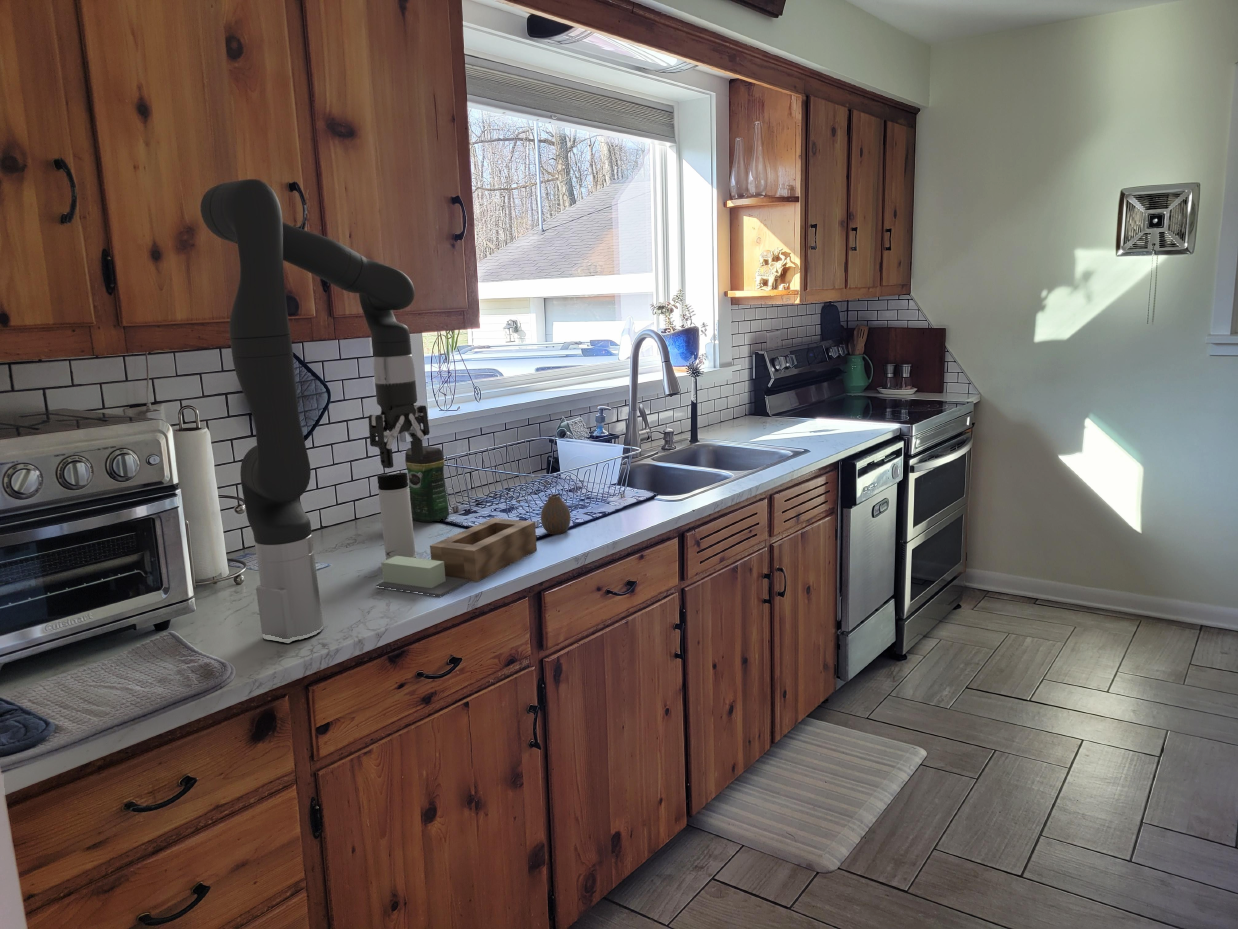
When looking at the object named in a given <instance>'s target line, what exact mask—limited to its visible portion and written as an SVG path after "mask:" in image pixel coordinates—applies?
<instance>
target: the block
mask: <svg viewBox="0 0 1238 929" xmlns="http://www.w3.org/2000/svg"><path fill="white" fill-rule="evenodd" d="M380 564H381V570H382V571H381V573H382V582H390V583H398V584H405V585H412V586H419V587H427V588H433V587H435V586H437V585H438V584H440V583H442V582H444V581H446V578H445V568H444V561H436V560H431V559H427V558H426V559H425V558H418V557H416V558H411V557H403V556H395V557H392V558H390V559H388V560H386V559H385V560H384V561H381V563H380Z"/></svg>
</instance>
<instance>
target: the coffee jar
mask: <svg viewBox="0 0 1238 929" xmlns="http://www.w3.org/2000/svg"><path fill="white" fill-rule="evenodd" d="M404 453H405V454H404V455H405V456H404V457H405V459H404V463H405V466H406V469H407V476H408V485H409V494H410V503H411V513H412V520H415V521H420V522H426V523H431V522H436V521H437V522H440V520H441V519H443V518H445V519H446V518H448V517H449V516H450V508H449V502H448V495H447V491H446V481H445V473H444V472H445V471H444V468H445V467H444V466H445V457H444V452H443V450H442V449H441V448H440V447H433V446H426V445H423V458H422V459H420V460H415V459H413V458H412V453H411V447H408V448H407V449H406V451H405V452H404ZM443 520H444V519H443ZM441 521H442V520H441Z"/></svg>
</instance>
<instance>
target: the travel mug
mask: <svg viewBox="0 0 1238 929" xmlns="http://www.w3.org/2000/svg"><path fill="white" fill-rule="evenodd" d="M376 479H377V485H378V486H377V487H378V490H377V491H378V499H379V506H380V507H379V508H380V519H381V527H382V536H383V544H384V553H385V560H388V559H390V558H392V557H395V556H403V557H411V558H417V555H416V544H415V535H414V527H413V526H414V525H413V524H414V523H413V519H412V513H411V503H410V490H409V476H408V472H395V473H390V474H388V473H386V474H385V473H384V474H379V475H377V476H376Z"/></svg>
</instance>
